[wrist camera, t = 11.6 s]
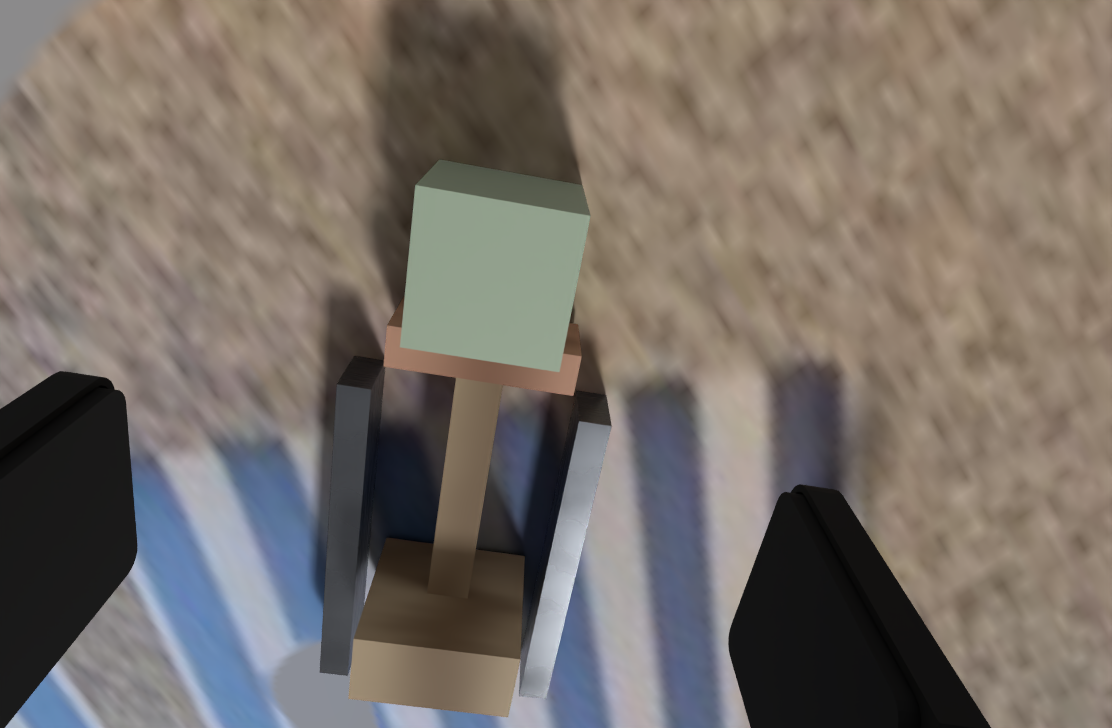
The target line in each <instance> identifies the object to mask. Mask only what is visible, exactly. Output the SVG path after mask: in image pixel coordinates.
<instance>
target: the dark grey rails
mask: <svg viewBox="0 0 1112 728" xmlns="http://www.w3.org/2000/svg"><path fill="white" fill-rule="evenodd" d="M384 374H385V367H384V361H383V360H376V359H370V358H364V357H357V356H354V357H353V359H352V361H351V362H350V364H349V365H348V367H347V369H346V370H345V372H344V373H343V375H342V377H341V378H340V380H339V382H338V383H337V389H336V405H335V422H334V439H333V456H332V473H331V490H330V507H329V524H328V541H327V558H326V574H325V591H324V608H323V625H322V642H321V660H320V673H329V674H337V675H346V676H347V675H348V673H349V670H350V667H351V663H352V651H353V639H354V636H355V633H356V630H357V627H358V624H359V620H360V617H361V614H362V611H363V608H364V599H365V588H366V576H367V565H368V554H369V543H370V531H371V520H372V509H373V498H374V487H375V475H376V464H377V453H378V442H379V430H380V419H381V408H382V397H383V386H384ZM610 431H611V420H610V414H609V408H608V403H607V397H606V395H601V394H595V393H588V392H582V391H576V395H575V400H574V405H573V410H572V414H571V419H570V424H569V428H568V433H567V438H566V442H565V447H564V452H563V457H562V461H561V466H560V471H559V475H558V480H557V485H556V489H555V494H554V499H553V504H552V508H551V513H550V518H549V522H548V527H547V532H546V536H545V541H544V546H543V551H542V555H541V560H540V565H539V569H538V574H537V579H536V583H535V588H534V593H533V598H532V602H531V607H530V612H529V616H528V621H527V626H526V630H525V635H524V640H523V644H522V649H521V662H520V686H519V696H523V697H531V698H540V699H546V696H547V692H548V688H549V684H550V680H551V676H552V672H553V667H554V663H555V659H556V655H557V651H558V647H559V642H560V638H561V634H562V630H563V626H564V622H565V618H566V613H567V609H568V605H569V601H570V597H571V593H572V588H573V584H574V580H575V576H576V572H577V568H578V564H579V559H580V555H581V551H582V547H583V543H584V539H585V534H586V530H587V526H588V522H589V518H590V514H591V509H592V505H593V501H594V497H595V493H596V489H597V485H598V480H599V476H600V472H601V468H602V464H603V460H604V455H605V451H606V447H607V443H608V439H609V435H610Z"/></svg>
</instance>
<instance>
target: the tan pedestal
mask: <svg viewBox="0 0 1112 728" xmlns="http://www.w3.org/2000/svg"><path fill="white" fill-rule="evenodd" d="M404 299H405V296H404V297H403V299H402V300H401V302H400V304H399V306H398V307H397V309H396V311H395V313H394V314H393V316H392V318H391V320H390V321H389V323H388V325H387V333H386V344H385V355H384V367H390V368H396V369H403V370H409V371H416V372H422V373H429V374H435V375H442V376H448V377H454V378H456V382H455V390H454V397H453V404H452V412H451V419H450V427H449V434H448V442H447V449H446V456H445V464H444V471H443V479H442V486H441V494H440V501H439V508H438V516H437V523H436V531H435V538H434V544H431V543H424V542H416V541H409V540H402V539H394V538H386V541H385V544H384V547H383V550H382V553H381V556H380V559H379V562H378V565H377V568H376V571H375V574H374V578H373V581H372V584H371V587H370V590H369V593H368V596H367V599H366V602H365V605H364V608H363V611H362V614H361V617H360V620H359V624H358V627H357V630H356V633H355V636H354V639H353V651H352V663H351V675H350V687H349V699H355V700H363V701H372V702H380V703H389V704H398V705H406V706H415V707H424V708H432V709H441V710H449V711H458V712H467V713H475V714H484V715H493V716H501V717H508V715H509V710H510V706H511V701H512V696H513V692H514V687H515V682H516V677H517V673H518V668H519V663H520V656H521V633H522V609H523V586H524V562H525V556H520V555H513V554H505V553H498V552H490V551H483V550H476V545H477V538H478V532H479V526H480V520H481V514H482V508H483V502H484V496H485V490H486V484H487V478H488V472H489V466H490V460H491V454H492V448H493V442H494V435H495V429H496V423H497V417H498V411H499V405H500V399H501V393H502V387H503V385H506V386H512V387H519V388H525V389H532V390H538V391H545V392H551V393H558V394H564V395H570V396H574V391H575V386H576V381H577V377H578V372H579V367H580V362H581V358H582V354H581V346H580V337H579V328H578V324H572V323H569V327H568V332H567V337H566V342H565V347H564V352H563V357H562V362H561V367H560V372H554V371H548V370H541V369H535V368H528V367H522V366H516V365H509V364H503V363H497V362H490V361H484V360H477V359H471V358H465V357H458V356H452V355H446V354H439V353H433V352H427V351H420V350H414V349H407V348H401V347H400V340H401V330H402V319H403V309H404Z"/></svg>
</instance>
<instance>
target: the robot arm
mask: <svg viewBox="0 0 1112 728" xmlns="http://www.w3.org/2000/svg"><path fill="white" fill-rule="evenodd" d="M136 554H137V535H136V522H135V510H134V497H133V484H132V472H131V459H130V447H129V434H128V422H127V409H126V400H125V396H124V394H123V393H122V392H121V391H119V390H115V389H114V386H113V384H112V382H111V381H110V380H109V379H107V378H104V377H97V376H91V375H84V374H78V373H71V372H63V371H60V372H57V373H55V374H53V375H51V376H50V377H48V378H47V379H45V380H44V381H42V382H41V383H39V384H38V385H36V386H35V387H33V388H32V389H30V390H29V391H27V392H26V393H24V394H23V395H21V396H20V397H18V398H17V399H15V400H14V401H12V402H11V403H9V404H7V405H6V406H4V407H3V408H1V409H0V728H5V727H6V725H7V724H8V723H9V722H10V720H11V719H12V718H13V717H14V715H15V714H16V713H17V712H18V710H19V709H20V708H21V707H22V705H23V704H24V703H25V702H26V701H27V699H28V698H29V697H30V696H31V694H32V693H33V692H34V691H35V689H36V688H37V687H38V686H39V684H40V683H41V682H42V681H43V679H44V678H45V677H46V676H47V674H48V673H49V672H50V671H51V669H52V668H53V667H54V666H55V664H56V663H57V662H58V661H59V659H60V658H61V657H62V656H63V654H64V653H65V652H66V651H67V649H68V648H69V647H70V646H71V645H72V643H73V642H74V641H75V640H76V638H77V637H78V636H79V635H80V633H81V632H82V631H83V630H84V628H85V627H86V626H87V625H88V623H89V622H90V621H91V620H92V618H93V617H94V616H95V615H96V613H97V612H98V611H99V610H100V608H101V607H102V606H103V605H104V603H105V602H106V601H107V600H108V598H109V597H110V596H111V595H112V593H113V592H114V591H115V590H116V588H117V587H118V586H119V585H120V584H121V582H122V581H123V580H124V579H125V577H126V576H127V575H128V573H129V572H130V570H131V568H132V566H133V564H134V561H135V558H136ZM729 653H730V657H731V661H732V664H733V667H734V671H735V674H736V678H737V681H738V685H739V688H740V692H741V695H742V699H743V702H744V706H745V709H746V713H747V716H748V720H749V723H750V727H751V728H991V727H990V725H989V724H988V722H987V721H986V719H985V718H984V716H983V714H982V713H981V711H980V710H979V708H978V707H977V705H976V703H975V702H974V700H973V699H972V697H971V696H970V694H969V693H968V691H967V689H966V688H965V686H964V685H963V683H962V682H961V680H960V678H959V677H958V675H957V674H956V672H955V671H954V669H953V667H952V666H951V664H950V663H949V661H948V660H947V658H946V656H945V655H944V653H943V652H942V650H941V649H940V647H939V646H938V644H937V642H936V641H935V639H934V638H933V636H932V635H931V633H930V631H929V630H928V628H927V627H926V625H925V624H924V622H923V620H922V619H921V617H920V616H919V614H918V613H917V611H916V609H915V608H914V606H913V605H912V603H911V602H910V600H909V599H908V597H907V595H906V594H905V592H904V591H903V589H902V588H901V586H900V584H899V583H898V581H897V580H896V578H895V577H894V575H893V573H892V572H891V570H890V569H889V567H888V566H887V564H886V562H885V561H884V559H883V558H882V556H881V555H880V553H879V552H878V550H877V548H876V547H875V545H874V544H873V542H872V541H871V539H870V537H869V536H868V534H867V533H866V531H865V530H864V528H863V526H862V525H861V523H860V522H859V520H858V519H857V517H856V516H855V514H854V512H853V511H852V509H851V508H850V506H849V505H848V503H847V501H846V500H845V498H844V497H843V495H842V494H841V493H840V492H839V491H837V490H833V489H827V488H820V487H814V486H807V485H801V484H799V485H797V486H795V487H794V488H793V490H792V491H791V493H788V492H784V493H782V494H781V495H780V497H779V499H778V501H777V503H776V506H775V509H774V511H773V514H772V517H771V520H770V522H769V525H768V528H767V530H766V533H765V536H764V538H763V541H762V544H761V547H760V549H759V552H758V555H757V557H756V560H755V563H754V565H753V568H752V571H751V573H750V576H749V579H748V582H747V584H746V587H745V590H744V592H743V595H742V598H741V600H740V603H739V606H738V609H737V611H736V614H735V617H734V619H733V622H732V625H731V628H730V632H729Z"/></svg>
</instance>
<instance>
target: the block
mask: <svg viewBox="0 0 1112 728" xmlns="http://www.w3.org/2000/svg"><path fill="white" fill-rule="evenodd" d="M589 221H590V212H589V208H588V204H587V201H586V197H585V193H584V189H583V185H579V184H574V183H568V182H562V181H557V180H551V179H546V178H540V177H535V176H529V175H523V174H518V173H512V172H507V171H501V170H496V169H490V168H485V167H479V166H473V165H468V164H462V163H457V162H451V161H446V160H440V159H439V161H438V162H437V163H436V164H435V165H434V166H433V167H432V168H431V169H430V170H429V171H428V172H427V173H426V174H425V175H424V176H423V178H422V179H421V180H420V181H419V182H418V183H417V184H416V185H415V195H414V205H413V215H412V226H411V236H410V247H409V257H408V267H407V278H406V288H405V299H404V309H403V319H402V330H401V340H400V347H401V348H407V349H414V350H420V351H427V352H433V353H439V354H446V355H452V356H458V357H465V358H471V359H477V360H484V361H490V362H497V363H503V364H509V365H516V366H522V367H528V368H535V369H541V370H548V371H554V372H560V367H561V362H562V357H563V352H564V347H565V342H566V337H567V332H568V327H569V321H570V316H571V311H572V306H573V301H574V296H575V291H576V286H577V281H578V276H579V271H580V266H581V261H582V256H583V251H584V246H585V241H586V236H587V231H588V226H589Z"/></svg>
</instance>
